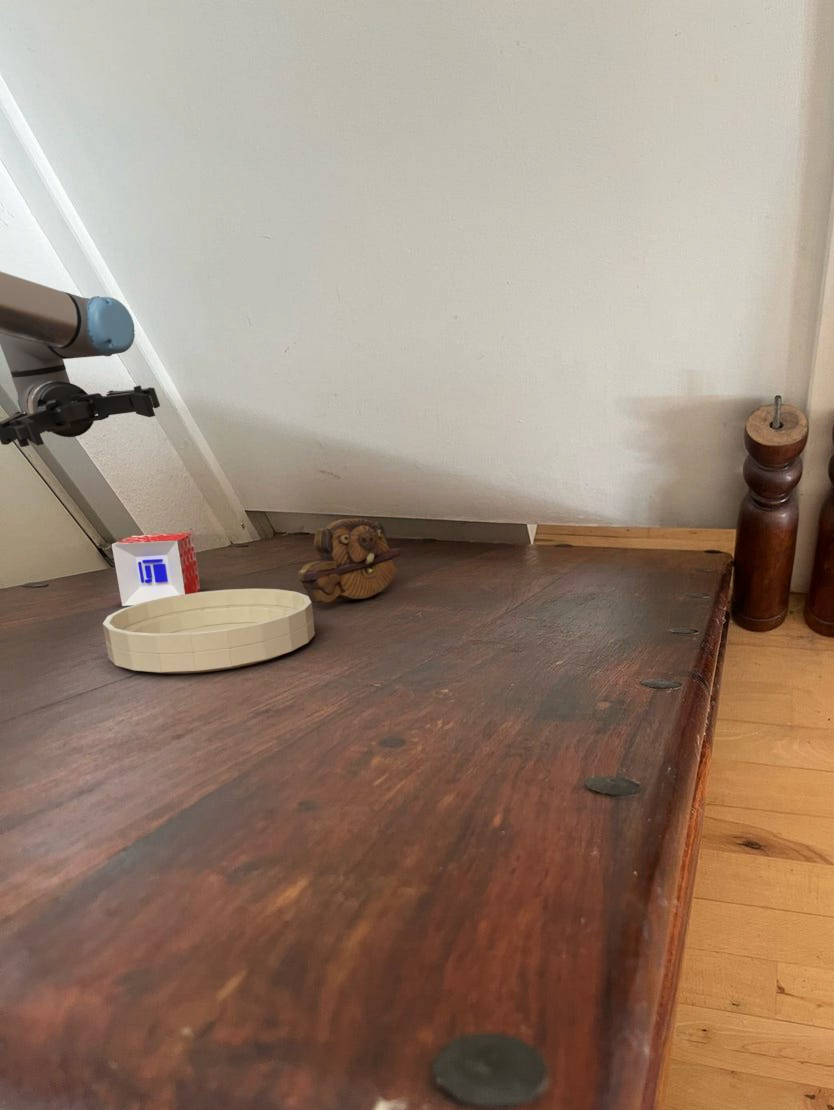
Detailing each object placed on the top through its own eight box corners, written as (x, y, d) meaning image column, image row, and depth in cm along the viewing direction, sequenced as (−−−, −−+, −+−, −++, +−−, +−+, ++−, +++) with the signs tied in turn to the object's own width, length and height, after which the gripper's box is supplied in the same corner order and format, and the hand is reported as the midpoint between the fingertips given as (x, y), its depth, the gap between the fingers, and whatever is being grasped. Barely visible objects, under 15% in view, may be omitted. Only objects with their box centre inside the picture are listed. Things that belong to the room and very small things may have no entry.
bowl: (71, 682, 68) (62, 638, 67) (160, 627, 86) (154, 592, 85) (288, 674, 67) (283, 630, 66) (330, 620, 86) (327, 585, 85)
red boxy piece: (200, 589, 106) (192, 532, 104) (186, 602, 99) (177, 540, 97) (140, 593, 105) (130, 535, 103) (121, 606, 98) (110, 544, 96)
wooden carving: (328, 616, 88) (320, 528, 85) (298, 613, 90) (289, 527, 87) (411, 588, 101) (406, 511, 99) (383, 585, 104) (377, 511, 101)
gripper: (155, 413, 119) (200, 424, 103) (-22, 457, 107) (-2, 477, 91) (138, 362, 116) (182, 365, 100) (-47, 402, 104) (-31, 413, 88)
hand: (94, 419), depth 96 cm, fingers open, 13 cm apart
